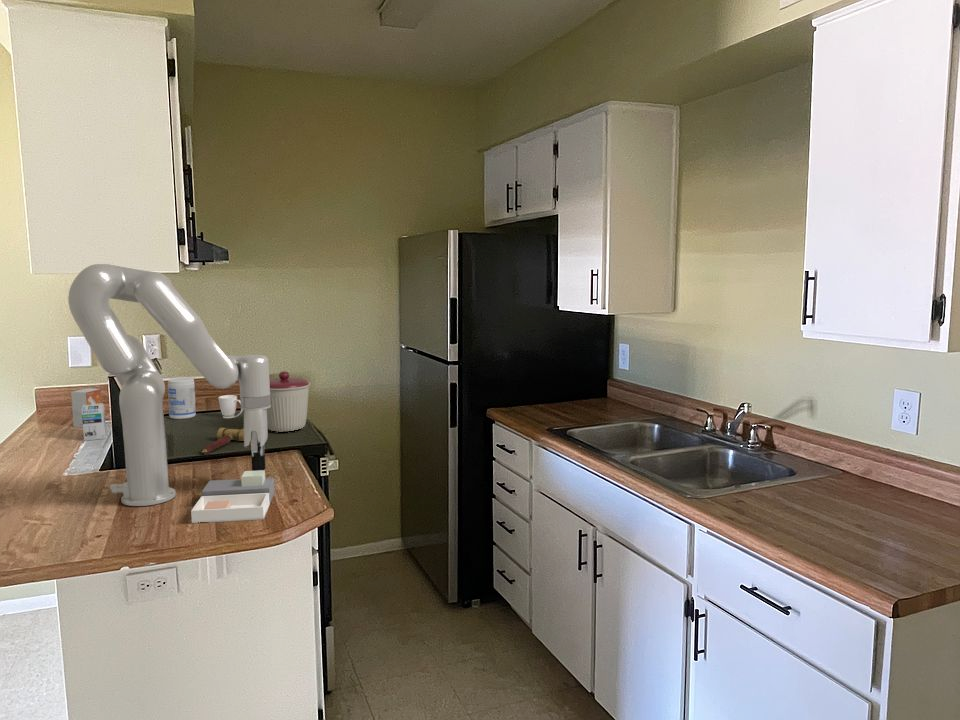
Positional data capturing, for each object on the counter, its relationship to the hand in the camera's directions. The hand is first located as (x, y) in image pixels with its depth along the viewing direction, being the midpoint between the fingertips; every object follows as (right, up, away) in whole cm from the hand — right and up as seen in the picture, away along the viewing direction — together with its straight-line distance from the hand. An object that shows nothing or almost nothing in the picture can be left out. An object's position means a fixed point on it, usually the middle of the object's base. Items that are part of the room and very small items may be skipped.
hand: (258, 469), depth 191 cm
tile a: (-3, -5, -22) cm, 22 cm away
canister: (-10, +4, +66) cm, 67 cm away
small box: (-86, +5, +75) cm, 114 cm away
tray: (-1, -8, -19) cm, 21 cm away
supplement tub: (-56, +7, +87) cm, 104 cm away
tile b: (+1, -2, -9) cm, 9 cm away
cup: (-37, +7, +86) cm, 94 cm away
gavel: (-26, 0, +43) cm, 50 cm away
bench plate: (-2, -6, -9) cm, 11 cm away
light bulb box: (-74, +2, +57) cm, 93 cm away
